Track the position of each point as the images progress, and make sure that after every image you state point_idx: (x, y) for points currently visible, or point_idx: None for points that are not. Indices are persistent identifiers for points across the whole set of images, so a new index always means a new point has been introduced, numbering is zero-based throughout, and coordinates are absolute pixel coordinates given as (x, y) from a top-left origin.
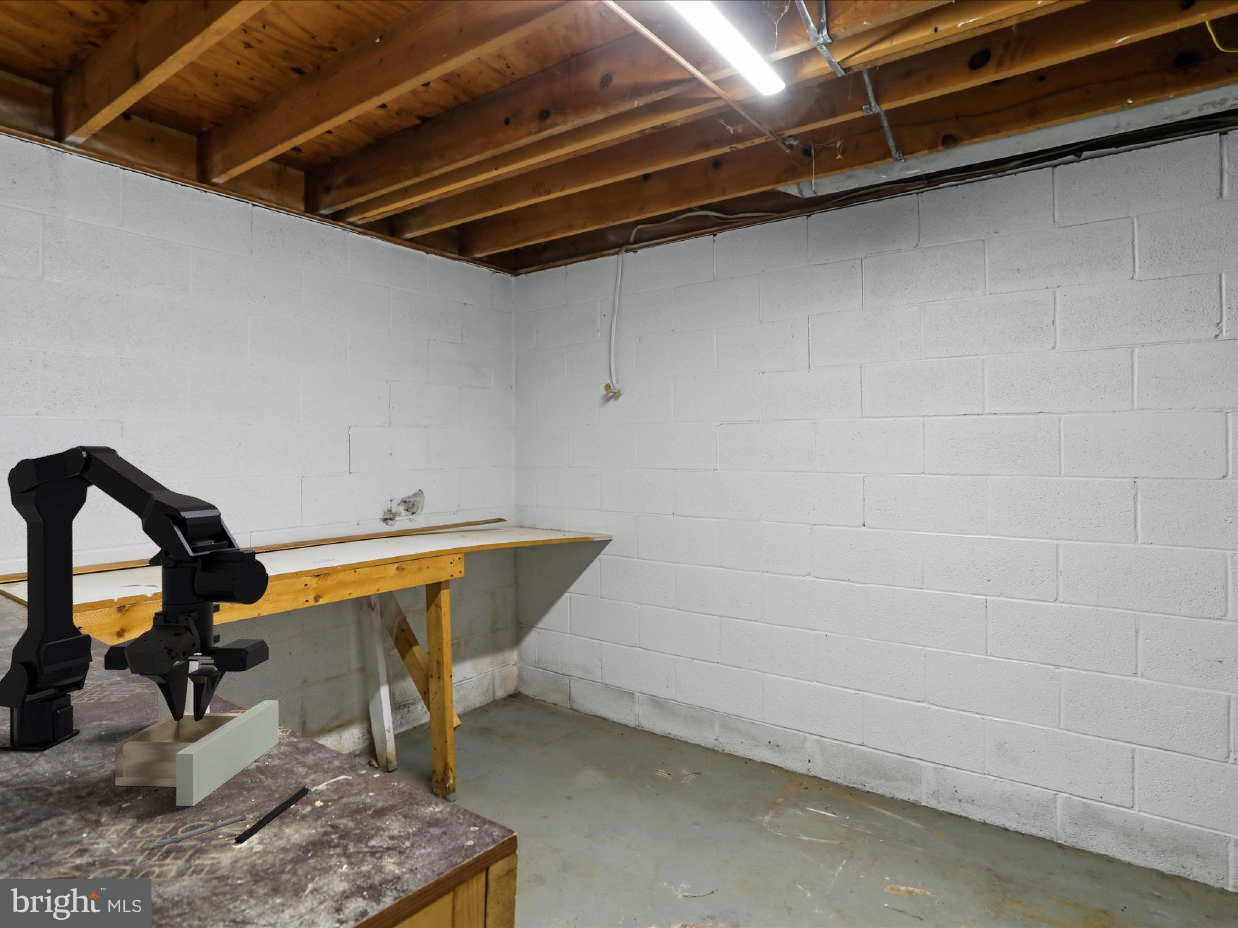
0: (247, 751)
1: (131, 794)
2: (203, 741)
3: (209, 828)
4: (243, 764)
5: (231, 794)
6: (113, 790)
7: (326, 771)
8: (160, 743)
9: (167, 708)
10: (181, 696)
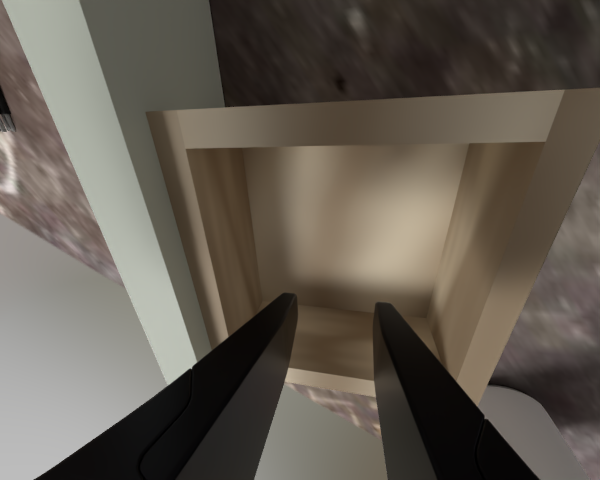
0: None
1: (400, 38)
2: (69, 66)
3: None
4: None
5: None
6: (484, 60)
7: (54, 209)
8: (347, 125)
9: (547, 460)
10: (391, 434)
